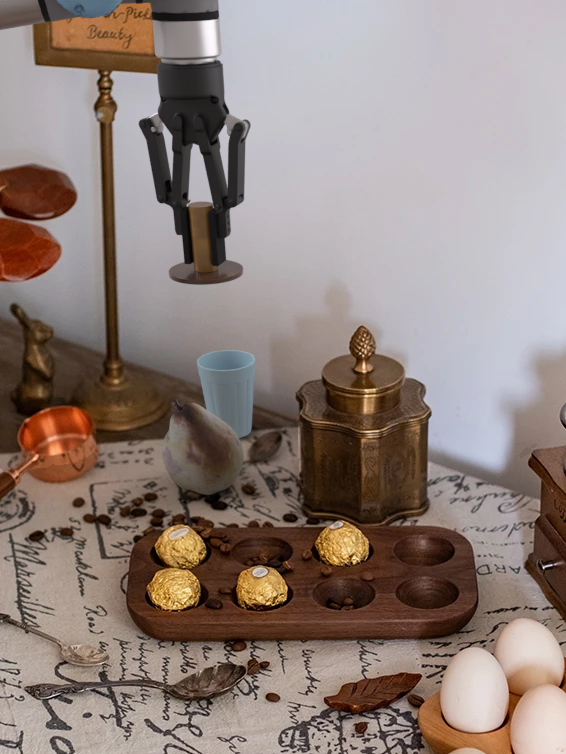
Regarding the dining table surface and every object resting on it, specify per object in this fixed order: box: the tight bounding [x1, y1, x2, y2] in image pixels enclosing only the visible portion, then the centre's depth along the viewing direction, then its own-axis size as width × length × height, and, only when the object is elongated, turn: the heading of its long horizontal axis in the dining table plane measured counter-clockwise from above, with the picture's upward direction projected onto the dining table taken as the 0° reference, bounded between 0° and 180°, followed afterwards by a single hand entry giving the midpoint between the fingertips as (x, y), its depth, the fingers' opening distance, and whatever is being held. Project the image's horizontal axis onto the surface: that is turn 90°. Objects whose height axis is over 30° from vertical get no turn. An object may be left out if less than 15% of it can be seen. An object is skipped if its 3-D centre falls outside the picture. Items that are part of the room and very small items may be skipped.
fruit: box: [161, 398, 245, 496], centre depth 134 cm, size 10×9×12 cm
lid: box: [168, 201, 244, 286], centre depth 136 cm, size 9×9×9 cm
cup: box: [196, 349, 256, 439], centre depth 149 cm, size 8×8×10 cm
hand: (205, 261), depth 137 cm, fingers closed on lid, 3 cm apart
